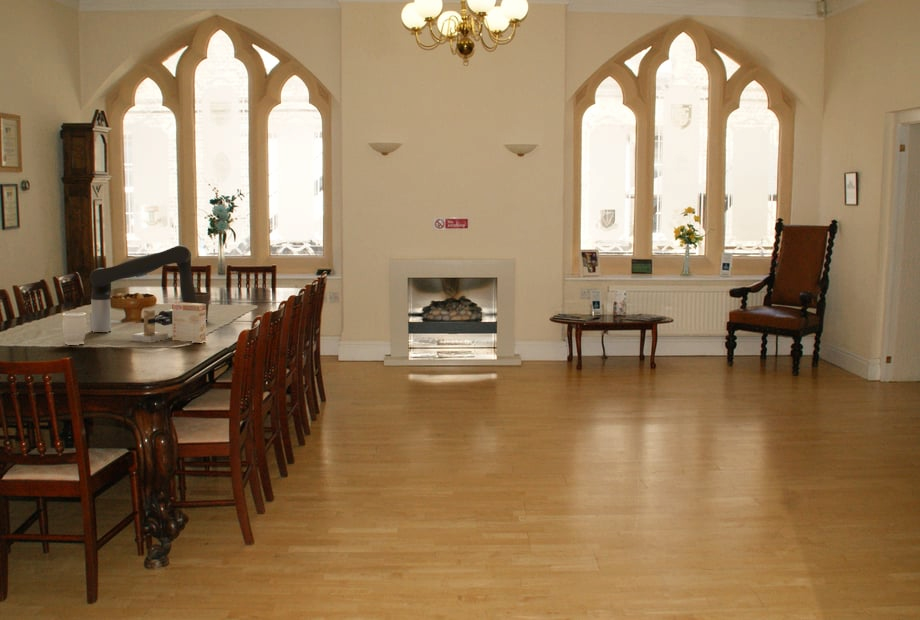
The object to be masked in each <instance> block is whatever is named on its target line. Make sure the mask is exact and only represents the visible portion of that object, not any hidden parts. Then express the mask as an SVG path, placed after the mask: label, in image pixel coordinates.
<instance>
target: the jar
mask: <svg viewBox="0 0 920 620" xmlns="http://www.w3.org/2000/svg"><path fill="white" fill-rule="evenodd" d="M61 316H62V323H61V324H62V327H61V328H62V332H63V333H62V334H63V337H64V339H65V344H67V345H66V346H69V345H77V346H80V345H79V344H83V345H85V342H84V340H85V337H86V332H87V320H86V316H87V312H81V311H76V312H75V311H73V312H71V311H70V312H64V313H62V314H61ZM65 344H64V345H65Z"/></svg>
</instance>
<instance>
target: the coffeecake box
mask: <svg viewBox="0 0 920 620" xmlns="http://www.w3.org/2000/svg"><path fill="white" fill-rule="evenodd" d="M171 304H172V305H171V307H172V308H171V309H172V324H171V325H172V327H171V328H172V330H171V331H172V334H171V336H172V338H171V339H172V341H174V340H180V341H179V342H186V341H193V342H202V341H206V342H207V321H206V304H199V303H184V302H183V301H182V302H181V301H179V302H172V303H171Z"/></svg>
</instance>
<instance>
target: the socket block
mask: <svg viewBox="0 0 920 620" xmlns="http://www.w3.org/2000/svg"><path fill="white" fill-rule="evenodd" d="M130 337H131V340H132V342H133V341H134V342H139V341H142V342H141V343H147V342H149V343H150V344H152V343H151V342H153V343H156V342H155V341H158V342H161V341H160V340H163V341H166V340H165V339H169V334H168V333H167V332H160V331H159V332H157V331H155V334H153V335H146V334H144V331H143V332H138V333H133V334H131V336H130ZM131 340H130V341H131Z"/></svg>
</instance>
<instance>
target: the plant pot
mask: <svg viewBox="0 0 920 620" xmlns="http://www.w3.org/2000/svg"><path fill="white" fill-rule="evenodd" d="M195 294H196V299H197V301H198V303H199V304H206V319H207V320H208V316H209V315H208V314H209V303H210V299H211V295H212V293H210V292H206V291H205V292H202V291H200V292H199V291H195Z"/></svg>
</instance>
